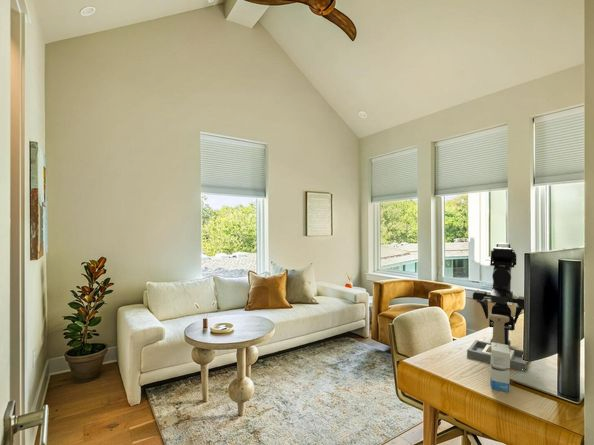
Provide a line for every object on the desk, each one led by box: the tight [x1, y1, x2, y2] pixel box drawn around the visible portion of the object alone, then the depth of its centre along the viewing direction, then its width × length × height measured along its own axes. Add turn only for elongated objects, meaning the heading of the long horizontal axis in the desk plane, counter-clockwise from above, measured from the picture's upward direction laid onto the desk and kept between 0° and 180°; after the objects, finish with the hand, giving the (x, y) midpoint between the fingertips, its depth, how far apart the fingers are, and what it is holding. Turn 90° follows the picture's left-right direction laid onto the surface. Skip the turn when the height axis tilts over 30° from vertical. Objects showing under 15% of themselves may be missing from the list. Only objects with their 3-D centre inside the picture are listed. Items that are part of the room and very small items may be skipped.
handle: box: [488, 313, 509, 344], centre depth 125 cm, size 5×6×15 cm
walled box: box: [466, 339, 529, 371], centre depth 125 cm, size 14×18×2 cm
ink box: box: [489, 342, 511, 393], centre depth 104 cm, size 8×5×12 cm, turn 151°
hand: (500, 321), depth 128 cm, fingers open, 9 cm apart
